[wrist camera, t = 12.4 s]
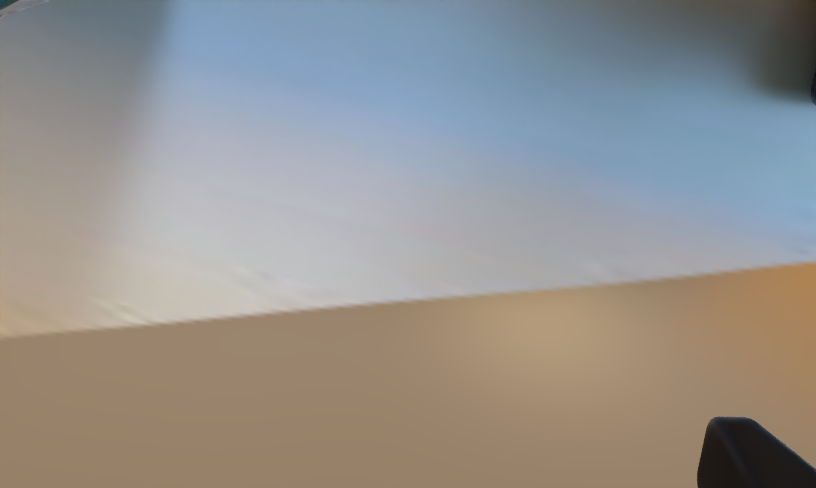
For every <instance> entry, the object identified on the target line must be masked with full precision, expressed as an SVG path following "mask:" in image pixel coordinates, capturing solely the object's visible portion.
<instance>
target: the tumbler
mask: <svg viewBox="0 0 816 488" xmlns="http://www.w3.org/2000/svg"><path fill="white" fill-rule="evenodd" d="M48 1H51V0H0V17H3V16H6V15H9V14H12V13H15V12H18V11H21V10H24V9H27V8H30V7H33V6H36V5H39V4H42V3H45V2H48Z"/></svg>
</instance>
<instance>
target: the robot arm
mask: <svg viewBox="0 0 816 488" xmlns="http://www.w3.org/2000/svg"><path fill="white" fill-rule="evenodd" d="M811 99H812V101H813V103H814V104H815V105H816V69H815V74H814V78H813V82H812V86H811ZM697 484H698V488H816V469H815V468H814V467H812V466H811V465H810V464H809V463H807V462H806V461H805V460H804V459H802V458H801V457H800V456H799V455H797V454H796V453H795V452H794V451H792V450H791V449H790V448H788V447H787V446H786V445H785V444H783V443H782V442H781V441H780V440H778V439H777V438H776V437H775V436H773V435H772V434H771V433H770V432H768V431H767V430H766V429H765V428H763V427H762V426H761V425H759V424H758V423H757V422H755V421H754V420H752V419H750V418H746V417H715V418H713V419H711V420H710V422H709V423H708V426H707V429H706V434H705V438H704V444H703V448H702V453H701V457H700V462H699V467H698V473H697Z"/></svg>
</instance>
